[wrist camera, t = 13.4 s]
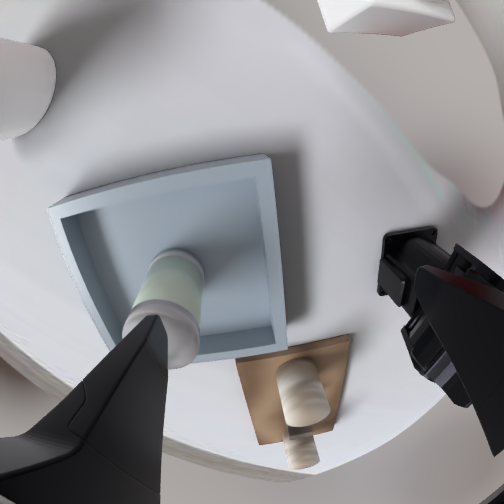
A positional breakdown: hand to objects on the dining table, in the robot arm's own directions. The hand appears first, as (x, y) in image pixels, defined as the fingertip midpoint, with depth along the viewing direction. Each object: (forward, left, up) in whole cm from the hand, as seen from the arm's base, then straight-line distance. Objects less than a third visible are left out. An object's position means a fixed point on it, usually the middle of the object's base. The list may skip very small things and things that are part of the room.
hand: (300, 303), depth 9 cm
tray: (+7, +5, -13) cm, 16 cm away
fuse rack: (-2, +27, -13) cm, 30 cm away
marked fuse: (+7, +5, -12) cm, 15 cm away
